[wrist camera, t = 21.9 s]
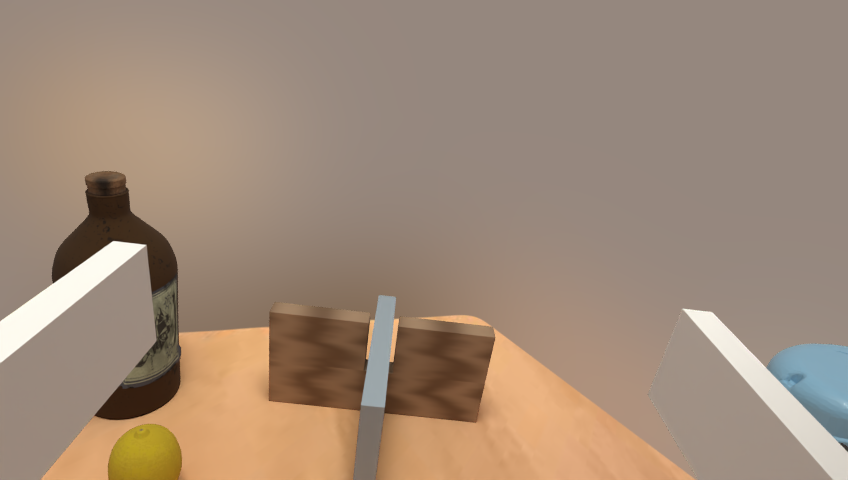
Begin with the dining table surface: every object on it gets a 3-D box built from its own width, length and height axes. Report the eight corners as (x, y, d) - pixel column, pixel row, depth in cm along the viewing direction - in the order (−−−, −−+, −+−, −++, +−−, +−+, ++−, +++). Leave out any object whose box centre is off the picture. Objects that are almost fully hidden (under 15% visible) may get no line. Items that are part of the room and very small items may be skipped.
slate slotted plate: (372, 506, 46) (384, 407, 42) (350, 504, 46) (361, 405, 41) (385, 378, 63) (396, 297, 58) (370, 376, 63) (379, 295, 58)
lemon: (191, 469, 47) (185, 405, 44) (175, 523, 42) (167, 455, 39) (127, 472, 46) (117, 406, 43) (103, 528, 41) (89, 458, 38)
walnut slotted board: (474, 410, 60) (493, 326, 55) (475, 422, 58) (495, 337, 53) (274, 388, 59) (274, 301, 54) (269, 400, 57) (269, 311, 52)
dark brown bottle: (56, 394, 54) (7, 171, 43) (149, 348, 62) (127, 153, 52) (114, 441, 49) (75, 206, 39) (206, 384, 58) (194, 180, 48)
